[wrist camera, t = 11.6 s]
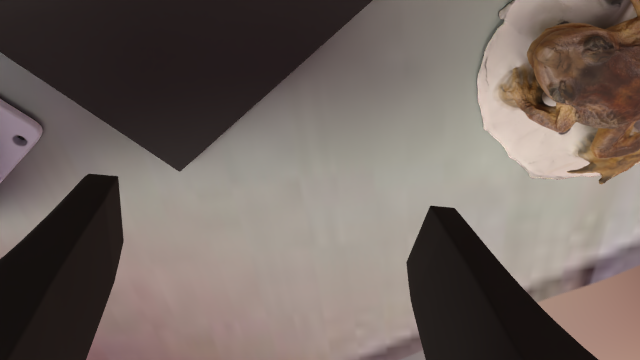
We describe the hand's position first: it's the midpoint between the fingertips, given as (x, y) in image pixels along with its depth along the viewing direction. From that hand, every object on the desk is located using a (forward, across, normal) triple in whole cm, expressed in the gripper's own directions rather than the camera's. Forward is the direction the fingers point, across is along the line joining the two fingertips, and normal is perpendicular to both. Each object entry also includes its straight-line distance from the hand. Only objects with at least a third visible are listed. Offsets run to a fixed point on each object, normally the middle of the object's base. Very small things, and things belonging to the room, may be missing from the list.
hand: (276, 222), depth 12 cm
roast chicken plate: (+10, -13, -1) cm, 17 cm away
